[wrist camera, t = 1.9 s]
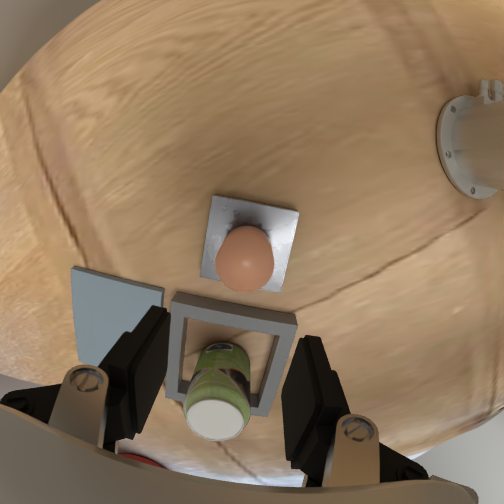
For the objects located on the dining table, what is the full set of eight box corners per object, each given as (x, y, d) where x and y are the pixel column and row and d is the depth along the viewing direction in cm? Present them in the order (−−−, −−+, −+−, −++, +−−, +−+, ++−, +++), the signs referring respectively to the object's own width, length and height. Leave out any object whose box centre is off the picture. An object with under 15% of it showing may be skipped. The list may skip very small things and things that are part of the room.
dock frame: (177, 291, 31) (171, 301, 29) (295, 314, 31) (297, 325, 29) (170, 385, 35) (165, 397, 32) (267, 403, 35) (267, 416, 33)
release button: (226, 221, 25) (220, 230, 21) (277, 231, 25) (280, 242, 21) (218, 269, 26) (210, 286, 22) (266, 278, 26) (267, 297, 22)
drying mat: (75, 266, 31) (70, 268, 30) (164, 288, 31) (161, 292, 30) (82, 357, 34) (79, 361, 33) (159, 382, 35) (157, 387, 34)
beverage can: (201, 376, 34) (181, 449, 22) (198, 326, 32) (172, 398, 20) (251, 380, 34) (247, 456, 22) (254, 331, 32) (251, 406, 20)
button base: (216, 193, 28) (212, 195, 26) (296, 209, 28) (299, 212, 26) (203, 270, 30) (199, 277, 28) (279, 285, 30) (280, 292, 28)
